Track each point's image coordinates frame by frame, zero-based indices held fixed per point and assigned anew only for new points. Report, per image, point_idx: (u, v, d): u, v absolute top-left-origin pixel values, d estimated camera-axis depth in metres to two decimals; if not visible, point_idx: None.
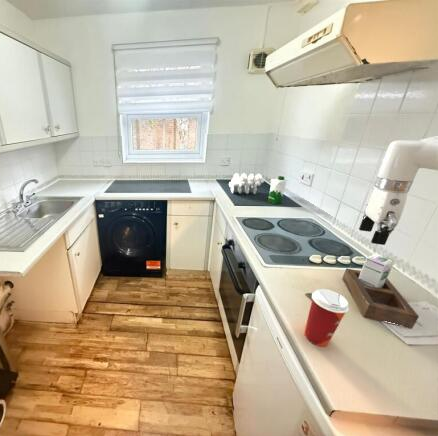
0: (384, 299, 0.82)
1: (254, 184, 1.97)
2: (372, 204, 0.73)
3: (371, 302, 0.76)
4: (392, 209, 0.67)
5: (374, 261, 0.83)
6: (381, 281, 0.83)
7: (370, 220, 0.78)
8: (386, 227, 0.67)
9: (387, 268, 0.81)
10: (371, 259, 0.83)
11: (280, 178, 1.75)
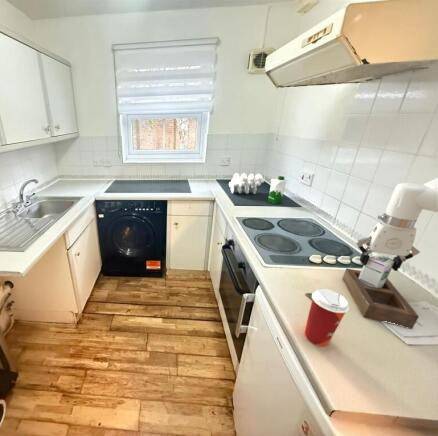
0: (384, 299, 0.82)
1: (254, 184, 1.97)
2: None
3: (371, 302, 0.76)
4: (371, 235, 0.82)
5: (374, 261, 0.83)
6: (382, 281, 0.83)
7: (397, 259, 0.81)
8: None
9: (387, 268, 0.81)
10: (371, 259, 0.83)
11: (280, 178, 1.75)
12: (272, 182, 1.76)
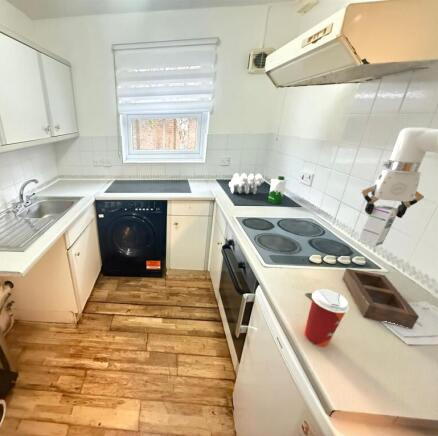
0: (384, 299, 0.82)
1: (254, 184, 1.97)
2: None
3: (371, 302, 0.76)
4: (376, 183, 0.84)
5: (379, 209, 0.85)
6: (385, 230, 0.86)
7: (402, 206, 0.83)
8: None
9: (392, 216, 0.84)
10: (377, 208, 0.85)
11: (280, 178, 1.75)
12: (272, 182, 1.76)
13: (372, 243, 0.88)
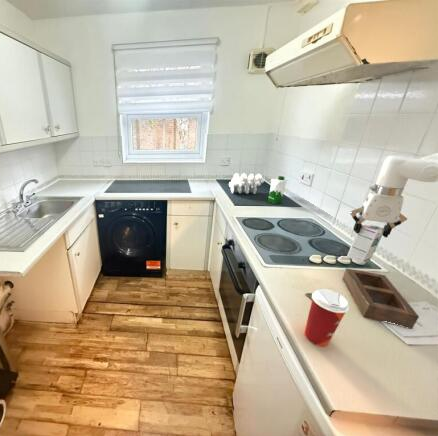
0: (384, 299, 0.82)
1: (254, 184, 1.97)
2: None
3: (371, 302, 0.76)
4: (363, 205, 0.90)
5: (366, 229, 0.91)
6: (372, 248, 0.92)
7: (387, 226, 0.89)
8: None
9: (378, 235, 0.90)
10: (364, 227, 0.92)
11: (280, 178, 1.75)
12: (272, 182, 1.76)
13: (360, 260, 0.94)
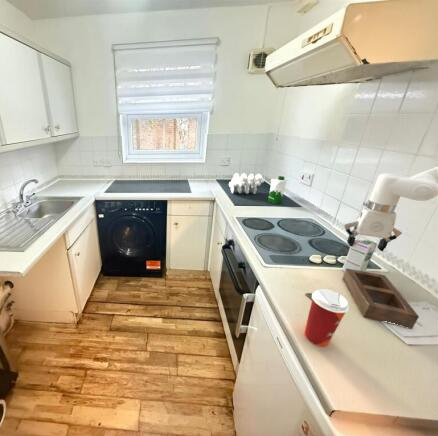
0: (384, 299, 0.82)
1: (254, 184, 1.97)
2: None
3: (371, 302, 0.76)
4: (358, 219, 0.92)
5: (359, 244, 0.94)
6: (365, 262, 0.94)
7: (383, 240, 0.91)
8: None
9: (370, 250, 0.92)
10: (357, 242, 0.94)
11: (280, 178, 1.75)
12: (272, 182, 1.76)
13: None
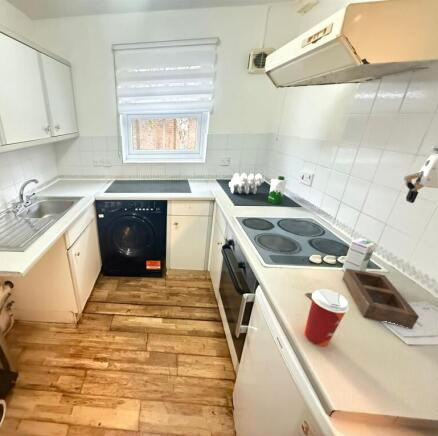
0: (384, 299, 0.82)
1: (254, 184, 1.97)
2: None
3: (371, 302, 0.76)
4: (423, 169, 0.77)
5: (358, 244, 0.94)
6: (365, 262, 0.94)
7: None
8: None
9: (369, 250, 0.93)
10: (356, 242, 0.94)
11: (280, 178, 1.75)
12: (272, 182, 1.76)
13: None
